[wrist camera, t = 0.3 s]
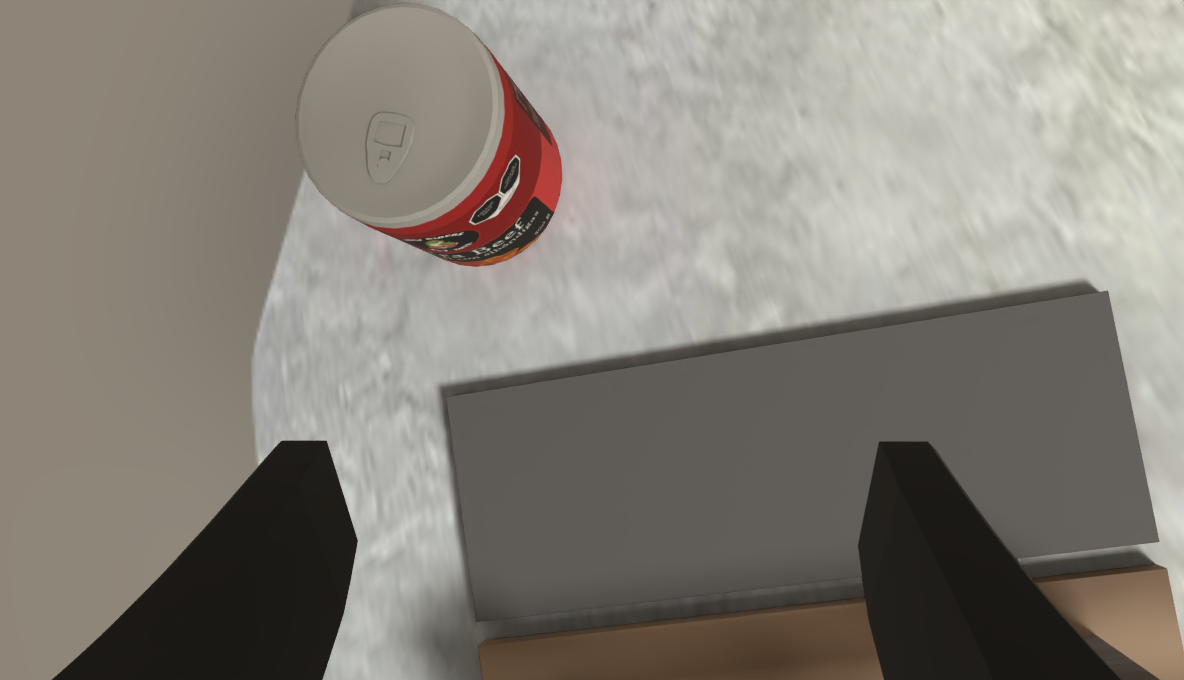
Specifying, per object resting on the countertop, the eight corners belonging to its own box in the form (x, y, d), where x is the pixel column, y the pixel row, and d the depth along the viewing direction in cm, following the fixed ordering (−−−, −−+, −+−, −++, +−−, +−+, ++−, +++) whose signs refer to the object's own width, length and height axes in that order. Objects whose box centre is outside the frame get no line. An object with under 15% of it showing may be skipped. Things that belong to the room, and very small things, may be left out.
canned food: (410, 275, 44) (294, 233, 33) (405, 108, 45) (290, 13, 34) (570, 264, 43) (503, 216, 32) (563, 92, 43) (495, -13, 32)
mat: (1151, 538, 37) (1159, 541, 37) (481, 617, 42) (476, 622, 41) (1101, 293, 38) (1108, 290, 38) (451, 397, 43) (445, 397, 42)
